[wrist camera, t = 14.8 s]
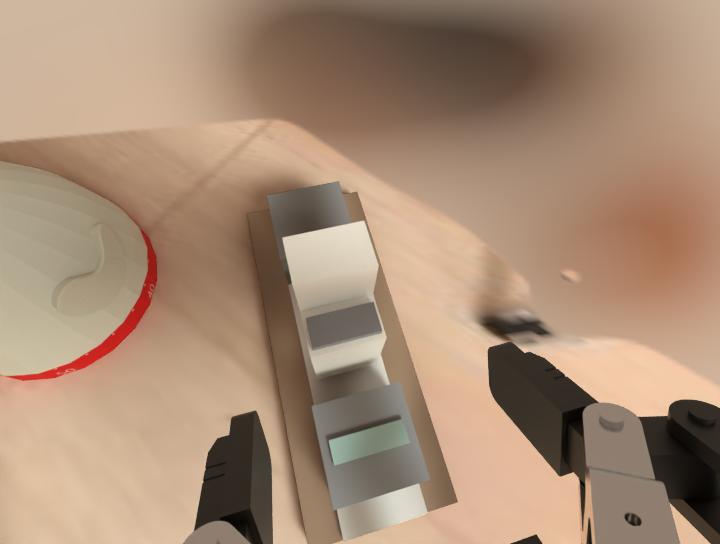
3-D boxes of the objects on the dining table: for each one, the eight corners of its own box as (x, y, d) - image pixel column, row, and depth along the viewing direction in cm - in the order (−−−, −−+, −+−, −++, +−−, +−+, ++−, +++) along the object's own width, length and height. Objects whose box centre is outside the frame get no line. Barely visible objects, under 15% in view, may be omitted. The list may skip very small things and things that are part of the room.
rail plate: (310, 545, 24) (300, 574, 18) (250, 223, 33) (231, 174, 27) (451, 499, 25) (484, 512, 19) (356, 202, 34) (359, 151, 28)
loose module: (317, 379, 26) (303, 338, 17) (301, 309, 28) (282, 237, 19) (376, 364, 26) (395, 316, 17) (357, 295, 28) (364, 220, 19)
